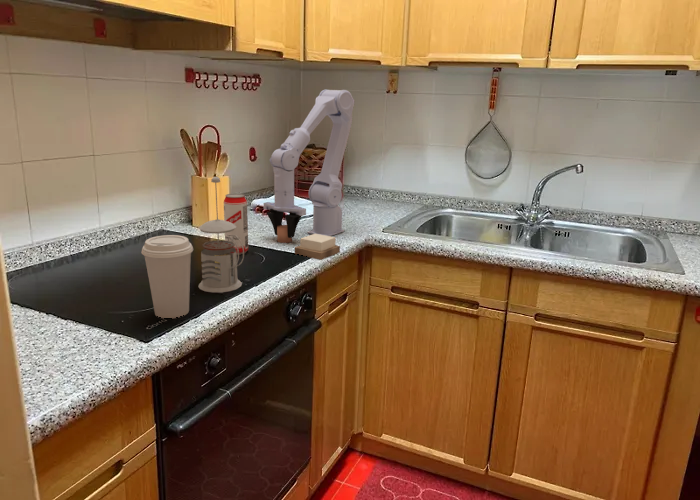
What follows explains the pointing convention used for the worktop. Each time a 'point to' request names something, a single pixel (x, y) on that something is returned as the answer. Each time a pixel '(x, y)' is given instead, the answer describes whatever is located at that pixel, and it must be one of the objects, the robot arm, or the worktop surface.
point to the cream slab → (317, 242)
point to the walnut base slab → (317, 252)
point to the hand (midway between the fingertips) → (284, 235)
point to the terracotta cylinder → (283, 234)
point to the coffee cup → (169, 274)
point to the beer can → (237, 220)
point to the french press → (224, 275)
